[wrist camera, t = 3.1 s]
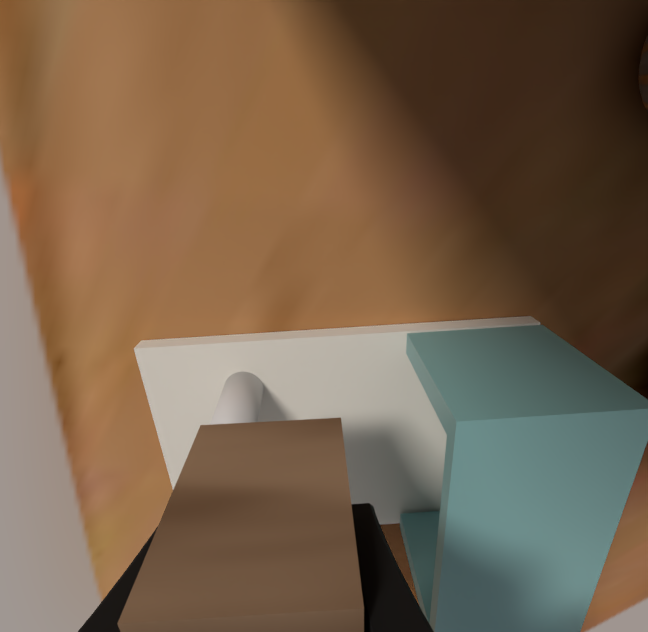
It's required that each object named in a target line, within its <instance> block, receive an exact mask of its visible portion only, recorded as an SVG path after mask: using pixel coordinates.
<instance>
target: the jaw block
mask: <svg viewBox="0 0 648 632" xmlns="http://www.w3.org/2000/svg"><path fill="white" fill-rule="evenodd" d="M117 624H118V627H119V629H120V632H364V604H363V596H362V588H361V579H360V571H359V563H358V555H357V546H356V538H355V530H354V522H353V513H352V505H351V497H350V489H349V480H348V472H347V464H346V456H345V447H344V439H343V431H342V423H341V418H324V419H306V420H287V421H269V422H250V423H231V424H213V425H200V428H199V430H198V432H197V435H196V437H195V440H194V442H193V444H192V447H191V449H190V451H189V454H188V456H187V459H186V461H185V463H184V466H183V468H182V471H181V473H180V475H179V478H178V480H177V483H176V485H175V487H174V490H173V492H172V494H171V497H170V499H169V502H168V504H167V506H166V509H165V511H164V514H163V516H162V518H161V521H160V523H159V525H158V528H157V530H156V533H155V535H154V537H153V540H152V542H151V545H150V547H149V549H148V552H147V554H146V556H145V559H144V561H143V564H142V566H141V568H140V571H139V573H138V576H137V578H136V580H135V583H134V585H133V588H132V590H131V592H130V595H129V597H128V599H127V602H126V604H125V607H124V609H123V611H122V614H121V616H120V619H119V621H118V623H117Z"/></svg>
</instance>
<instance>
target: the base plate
mask: <svg viewBox="0 0 648 632" xmlns="http://www.w3.org/2000/svg"><path fill="white" fill-rule="evenodd" d="M530 325H540V322H539V321H537V320H536V319H534V318H533V317H532V316H522V317H506V318H490V319H474V320H458V321H442V322H427V323H411V324H395V325H379V326H363V327H347V328H331V329H316V330H300V331H284V332H268V333H252V334H236V335H220V336H205V337H189V338H173V339H157V340H141V341H140V342H139V344H138V345H137V346H136V347H135V348H134V351H135V355H136V358H137V362H138V366H139V369H140V373H141V376H142V380H143V383H144V387H145V391H146V394H147V398H148V401H149V405H150V409H151V412H152V416H153V419H154V423H155V427H156V430H157V434H158V437H159V441H160V445H161V448H162V452H163V455H164V459H165V462H166V466H167V470H168V473H169V477H170V480H171V484H172V488H173V490H174V487H175V485H176V483H177V480H178V478H179V475H180V473H181V471H182V468H183V466H184V463H185V461H186V459H187V456H188V454H189V451H190V449H191V447H192V444H193V442H194V440H195V437H196V435H197V432H198V430H199V428H200V425H213V424H231V423H250V422H269V421H287V420H306V419H324V418H341V423H342V431H343V439H344V447H345V456H346V464H347V472H348V480H349V489H350V497H351V504H363V503H370V504H371V505H372V506H373V507H374V510H375V513H376V516H377V519H378V521H379V524H380V525H382V524H396V523H400V514H402V513H416V512H431V511H440V504H441V494H442V483H443V472H444V462H445V451H446V440H447V434H446V432H445V430H444V428H443V426H442V424H441V422H440V420H439V418H438V416H437V414H436V412H435V410H434V408H433V406H432V404H431V402H430V400H429V398H428V396H427V394H426V392H425V390H424V388H423V386H422V384H421V382H420V380H419V378H418V376H417V374H416V372H415V370H414V368H413V366H412V364H411V362H410V360H409V358H408V356H407V354H406V344H407V333H420V332H436V331H452V330H467V329H483V328H499V327H515V326H530Z"/></svg>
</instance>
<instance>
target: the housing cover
mask: <svg viewBox="0 0 648 632" xmlns="http://www.w3.org/2000/svg"><path fill="white" fill-rule="evenodd" d="M406 354H407V356H408V358H409V360H410V362H411V364H412V366H413V368H414V370H415V372H416V374H417V376H418V378H419V380H420V382H421V384H422V386H423V388H424V390H425V392H426V394H427V396H428V398H429V400H430V402H431V404H432V406H433V408H434V410H435V412H436V414H437V416H438V418H439V420H440V422H441V424H442V426H443V428H444V430H445V432H446V434H447V440H446V451H445V462H444V472H443V483H442V494H441V504H440V511H431V512H416V513H402V514H400V530H401V534H402V538H403V542H404V546H405V550H406V554H407V558H408V562H409V566H410V570H411V574H412V578H413V582H414V586H415V590H416V594H417V598H418V602H419V606H420V608H421V610H422V612H423V614H424V615H425V617H426V619H427V621H428V622H429V624H430V626H431V627H432V629H433V631H434V632H580V631H581V628H582V625H583V622H584V619H585V616H586V614H587V611H588V608H589V605H590V602H591V600H592V597H593V594H594V591H595V588H596V585H597V583H598V580H599V577H600V574H601V571H602V569H603V566H604V563H605V560H606V557H607V554H608V552H609V549H610V546H611V543H612V540H613V537H614V535H615V532H616V529H617V526H618V523H619V521H620V518H621V515H622V512H623V509H624V506H625V504H626V501H627V498H628V495H629V492H630V490H631V487H632V484H633V481H634V478H635V475H636V473H637V470H638V467H639V464H640V461H641V459H642V456H643V453H644V450H645V447H646V444H647V442H648V400H647V399H646V398H645V397H643V396H642V395H640V394H639V393H638V392H636V391H635V390H633V389H632V388H631V387H629V386H628V385H626V384H625V383H624V382H622V381H621V380H619V379H618V378H617V377H615V376H614V375H612V374H611V373H610V372H608V371H607V370H605V369H604V368H603V367H601V366H600V365H598V364H597V363H596V362H594V361H593V360H591V359H590V358H589V357H587V356H586V355H584V354H583V353H582V352H580V351H579V350H577V349H576V348H574V347H573V346H572V345H570V344H569V343H567V342H566V341H565V340H563V339H562V338H560V337H559V336H558V335H556V334H555V333H553V332H552V331H551V330H549V329H548V328H546V327H545V326H544V325H530V326H515V327H499V328H483V329H467V330H452V331H436V332H420V333H407V344H406Z"/></svg>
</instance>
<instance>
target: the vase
mask: <svg viewBox="0 0 648 632" xmlns="http://www.w3.org/2000/svg"><path fill="white" fill-rule="evenodd" d="M639 89H640V95H641V99H642V102H643V104H644V107H645V109H646V111H647V113H648V35H647V38H646V40H645V43H644V46H643V50H642V54H641V59H640V65H639Z"/></svg>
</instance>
